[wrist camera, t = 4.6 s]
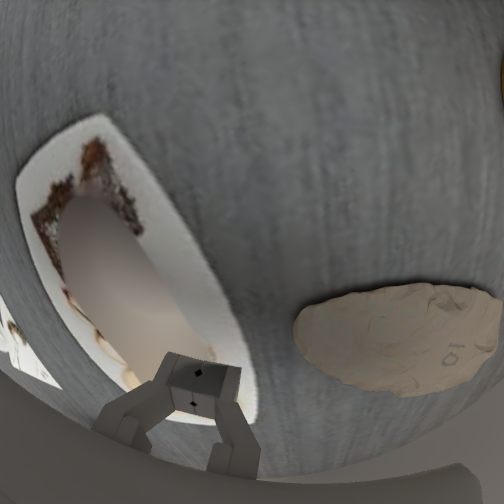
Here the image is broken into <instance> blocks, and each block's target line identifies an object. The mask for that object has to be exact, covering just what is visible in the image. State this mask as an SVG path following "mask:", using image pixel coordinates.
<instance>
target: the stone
mask: <svg viewBox="0 0 504 504" xmlns="http://www.w3.org/2000/svg"><path fill="white" fill-rule="evenodd" d="M502 307H503V303H502V301H501V300H499V299H496V298H493V297H491V296H490V295H489V294H488V293H487V292H486V291H481V290H478V289H476V288H474V287H471V288H470V289H467V288H464V287H459V286H449V285H434V286H433V285H431V284H430V283H414V284H408V285H402V286H394V287H391V286H386V287H383V288H381V289H376V290H373V291H368V292H351V293H349V294H347V295H345V296H343V297H338V298H333V299H330V300H328V301H325V302H323V303H320V304H314V305H309V306H307V307H306V308H304V309H303V310H302V311H301V312H300V313H299V315H298V317H297V318H296V320H295V322H294V323H293V340H294V343H295V344H296V346H297V347H298V348H299V350H300V352H301V354H302V355H303V357H304V358H305V359H306V360H307V361H308V362H310V363H311V364H313V365H314V366H315V367H316V368H317V369H319V370H320V371H322V372H324V373H326V374H328V375H330V376H332V377H334V378H336V379H337V380H339V381H341V382H343V383H344V384H345V385H354V386H356V387H358V388H359V389H361V390H367V391H372V392H375V391H381V390H387V391H392V392H393V394H394V395H395V396H396V397H397V398H403V397H414V396H418V395H419V396H423V395H426V394H428V393H430V392H442V391H444V390H446V389H449V388H451V387H453V386H455V385H457V384H459V383H464V382H467V381H469V380H471V379H472V378H473V376H474V375H475V374H476V373H477V372H478V370H479V369H480V367H481V365H482V364H483V362H484V361H485V360H487V359H488V358H489V357H491V356H492V355H493V354H494V353H495V351H496V350H497V347H498V339H499V326H500V321H501V316H502Z"/></svg>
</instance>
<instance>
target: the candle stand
mask: <svg viewBox="0 0 504 504" xmlns="http://www.w3.org/2000/svg"><path fill="white" fill-rule="evenodd" d="M502 94H503V102H504V59H503V64H502Z"/></svg>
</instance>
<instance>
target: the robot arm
mask: <svg viewBox="0 0 504 504" xmlns="http://www.w3.org/2000/svg"><path fill="white" fill-rule="evenodd" d="M241 370H242V368H241V367H235V366H229V365H226V364H220V363H215V362H210V361H205V360H204V361H203V360H199V359H195V358H191V357H188V356H183V355H180V354H176V353H172V352H168V353H167V354H166V355H165V357H164V359H163V361H162V363H161V365H160V367H159V370H158V372H157V373H156V375H155V377H154V379H153V381H147V382H145V383H144V384H142V385H140V386H138V387H137V388H135V389H133V390H131V391H129V392H128V393H126V394H124V395H122V396H120V397H118V398H117V399H115V400H113V401H111V402H109V403H107V404H105V405H104V407H103V409H102V411H101V413H100V414H99V416H98V418H97V420H96V422H95V423H94V425H93V427H92V429H89V428H87V427H85V426H83V425H82V424H80V423H78V422H76V421H74V420H72V419H71V418H69V417H67V416H66V415H64V414H62V413H61V412H59V411H57V410H56V409H54V408H52V407H51V406H49V405H48V404H46V403H45V402H43V401H42V400H40V399H39V398H37V397H36V396H34V395H33V394H32V393H30V392H29V391H27V390H26V389H25V388H23V387H22V386H21V385H19V384H18V383H17V382H15V381H14V380H13V379H12V378H10V377H9V376H8V375H7V374H6V373H4V372H3V371H2V370H1V369H0V504H483V501H482V491H481V485H480V482H479V480H478V478H477V477H476V476H475V475H474V474H473V473H472V472H471V471H470V470H469V469H468V468H467V467H465V466H464V465H463V464H461V463H453V464H450V465H446V466H443V467H439V468H435V469H432V470H428V471H424V472H419V473H415V474H410V475H405V476H400V477H394V478H387V479H381V480H373V481H365V482H364V481H363V482H352V483H333V484H302V483H282V482H271V481H261V480H256V478H257V472H258V465H259V459H260V452H261V448H260V446H259V444H258V442H257V440H256V438H255V437H254V435H253V433H252V431H251V429H250V427H249V425H248V423H247V421H246V419H245V417H244V415H243V412H242V410H241V408H240V406H239V404H238V402H236V401H237V397H238V391H239V385H240V378H241ZM175 410H178V411H182V412H186V413H190V414H195V415H198V416H202V417H206V418H210V419H214V420H215V422H216V425H217V428H218V430H219V433H220V436H221V438H222V441H223V443H219V442H217V443H215V444H214V445H213V448H212V452H211V455H210V459H209V462H208V466H207V469H206V471H204V470H199V469H195V468H192V467H188V466H184V465H180V464H177V463H174V462H170V461H167V460H164V459H161V458H158V457H155V456H152V455H149V453H150V451H151V448H152V444H151V442H150V441H149V439H148V437H147V435H146V434H145V433H146V432H147V431H149V430H150V429H152V428H153V427H154V426H156V425H157V424H158V423H160V422H161V421H162V420H164V419H165V418H166V417H167V416H169V415H170V414H171V413H173V412H174V411H175Z"/></svg>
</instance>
